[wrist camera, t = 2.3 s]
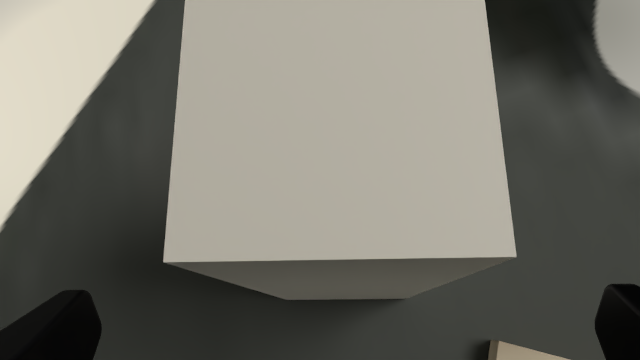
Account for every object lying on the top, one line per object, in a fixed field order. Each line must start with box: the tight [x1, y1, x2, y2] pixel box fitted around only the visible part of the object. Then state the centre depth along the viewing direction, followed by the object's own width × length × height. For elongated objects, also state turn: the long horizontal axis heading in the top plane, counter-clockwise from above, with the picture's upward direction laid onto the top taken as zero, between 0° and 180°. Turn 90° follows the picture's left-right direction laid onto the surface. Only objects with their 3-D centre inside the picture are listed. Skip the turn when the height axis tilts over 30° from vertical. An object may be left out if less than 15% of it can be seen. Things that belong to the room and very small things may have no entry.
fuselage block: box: [163, 0, 516, 300], centre depth 13 cm, size 4×4×12 cm
